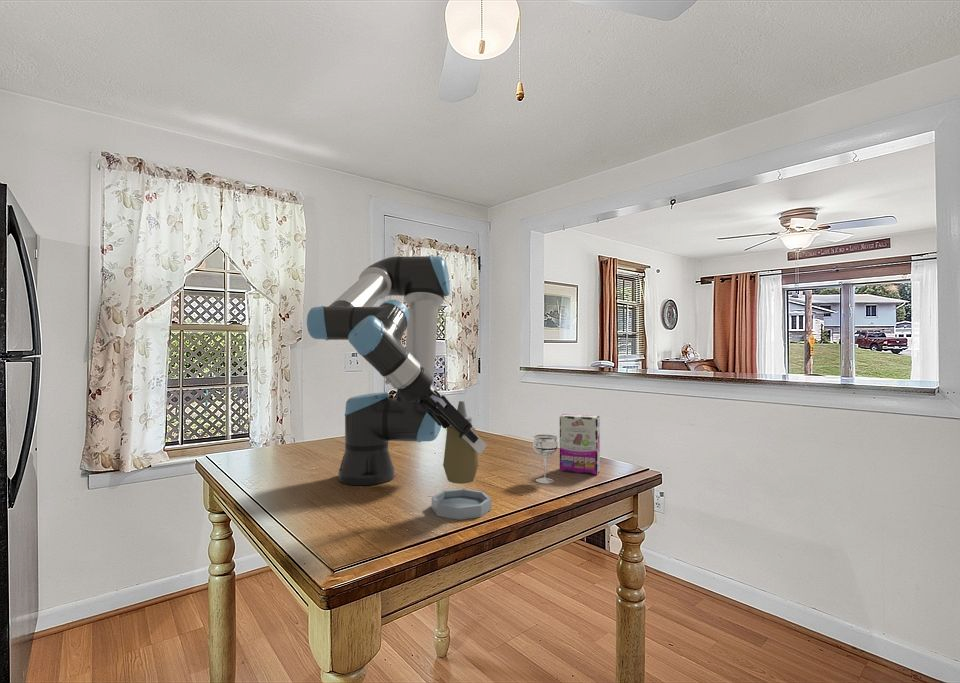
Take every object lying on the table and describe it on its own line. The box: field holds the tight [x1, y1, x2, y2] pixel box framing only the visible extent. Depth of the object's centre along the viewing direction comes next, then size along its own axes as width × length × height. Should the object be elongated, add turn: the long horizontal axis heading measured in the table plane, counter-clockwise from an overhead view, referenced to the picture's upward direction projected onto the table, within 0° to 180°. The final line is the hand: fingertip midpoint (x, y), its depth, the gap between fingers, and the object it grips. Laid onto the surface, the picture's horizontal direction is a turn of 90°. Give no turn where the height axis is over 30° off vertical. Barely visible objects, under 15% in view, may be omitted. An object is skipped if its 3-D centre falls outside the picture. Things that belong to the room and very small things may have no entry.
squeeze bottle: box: [442, 400, 479, 485], centre depth 112 cm, size 8×8×18 cm
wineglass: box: [532, 434, 559, 484], centre depth 135 cm, size 7×7×12 cm
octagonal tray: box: [431, 488, 492, 521], centre depth 113 cm, size 13×13×2 cm
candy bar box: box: [559, 413, 601, 475], centre depth 145 cm, size 11×5×16 cm, turn 68°
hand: (475, 446), depth 114 cm, fingers closed on squeeze bottle, 6 cm apart
